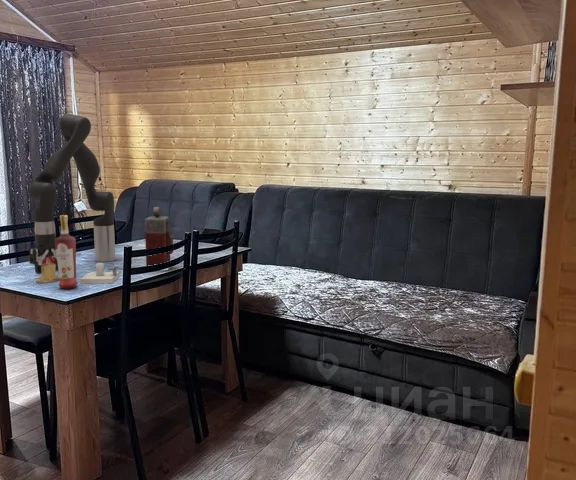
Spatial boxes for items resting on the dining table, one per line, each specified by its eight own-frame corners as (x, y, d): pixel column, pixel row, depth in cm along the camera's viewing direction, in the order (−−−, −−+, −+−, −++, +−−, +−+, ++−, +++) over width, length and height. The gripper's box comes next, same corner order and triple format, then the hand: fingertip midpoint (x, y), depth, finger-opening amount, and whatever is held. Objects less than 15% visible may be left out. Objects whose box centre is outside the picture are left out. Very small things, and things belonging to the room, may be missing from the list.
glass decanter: (171, 271, 230) (170, 208, 226) (146, 270, 230) (144, 207, 225) (175, 266, 239) (174, 206, 234) (151, 266, 239) (149, 205, 234)
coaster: (41, 277, 216) (41, 276, 216) (63, 277, 216) (63, 275, 216) (32, 282, 207) (32, 281, 207) (55, 282, 208) (55, 281, 208)
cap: (54, 276, 216) (53, 262, 215) (58, 279, 210) (57, 265, 209) (39, 278, 212) (38, 263, 211) (43, 281, 206) (42, 267, 205)
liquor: (81, 285, 204) (77, 214, 199) (74, 290, 196) (69, 216, 192) (62, 285, 204) (57, 214, 199) (54, 290, 196) (49, 216, 192)
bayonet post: (89, 276, 218) (89, 260, 217) (119, 276, 219) (119, 260, 218) (80, 283, 206) (79, 266, 205) (112, 283, 207) (111, 266, 206)
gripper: (36, 235, 201) (39, 276, 203) (66, 230, 213) (68, 269, 216) (23, 234, 204) (26, 274, 207) (53, 229, 217) (56, 267, 219)
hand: (47, 271), depth 211 cm, fingers open, 8 cm apart
